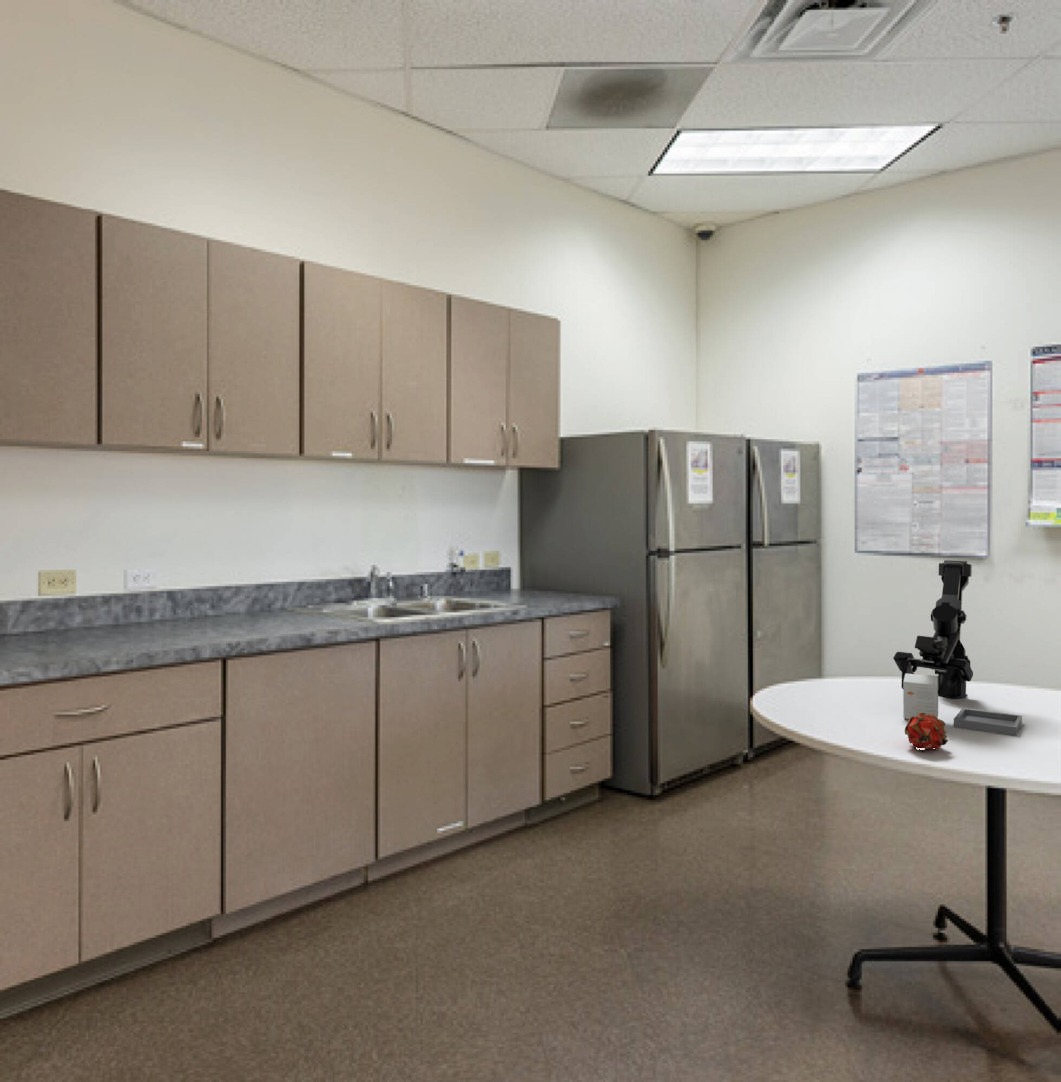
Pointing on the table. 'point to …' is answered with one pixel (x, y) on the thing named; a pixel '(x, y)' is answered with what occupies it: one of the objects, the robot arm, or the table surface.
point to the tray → (988, 721)
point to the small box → (920, 695)
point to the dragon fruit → (926, 731)
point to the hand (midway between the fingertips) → (920, 691)
